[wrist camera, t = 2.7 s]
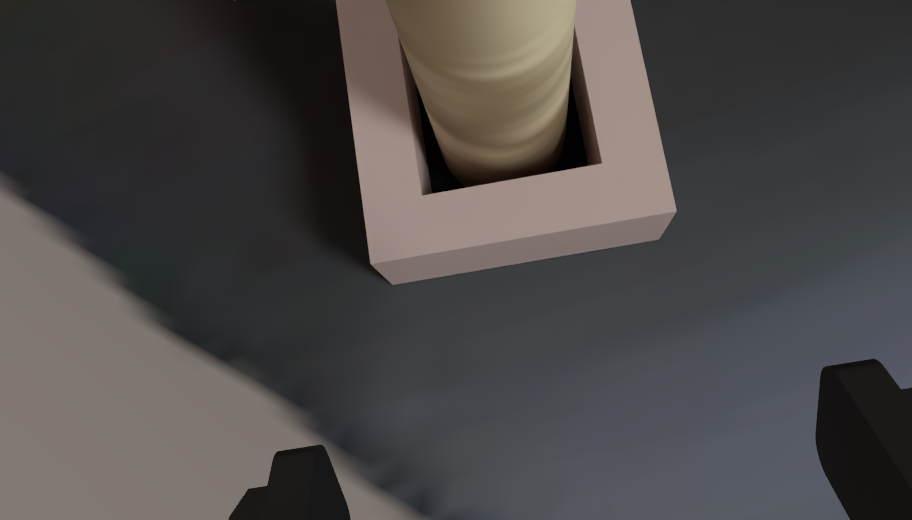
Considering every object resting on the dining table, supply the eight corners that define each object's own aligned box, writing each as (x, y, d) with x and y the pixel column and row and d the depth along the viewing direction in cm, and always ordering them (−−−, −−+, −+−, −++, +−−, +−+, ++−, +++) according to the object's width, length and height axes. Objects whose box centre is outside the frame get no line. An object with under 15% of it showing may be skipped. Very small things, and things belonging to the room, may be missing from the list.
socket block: (606, -4, 32) (616, -65, 28) (658, 239, 29) (676, 211, 26) (359, 43, 32) (334, -9, 28) (392, 284, 30) (370, 264, 26)
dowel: (552, 68, 31) (559, -145, 20) (575, 185, 30) (596, 33, 18) (432, 91, 32) (367, -105, 20) (450, 207, 31) (393, 72, 19)
